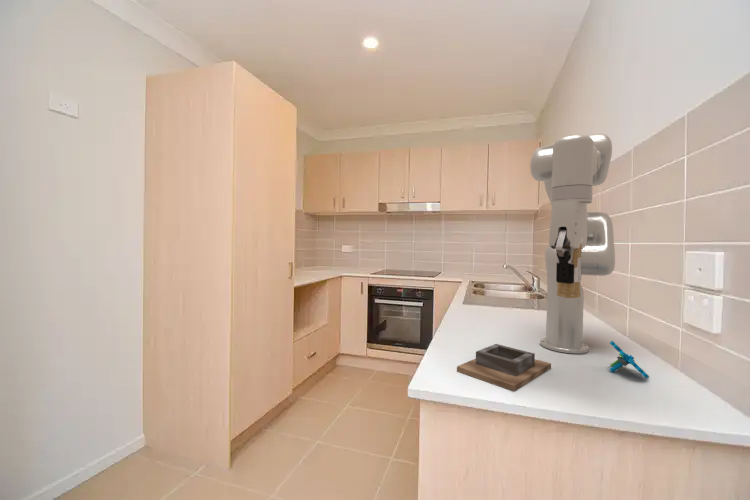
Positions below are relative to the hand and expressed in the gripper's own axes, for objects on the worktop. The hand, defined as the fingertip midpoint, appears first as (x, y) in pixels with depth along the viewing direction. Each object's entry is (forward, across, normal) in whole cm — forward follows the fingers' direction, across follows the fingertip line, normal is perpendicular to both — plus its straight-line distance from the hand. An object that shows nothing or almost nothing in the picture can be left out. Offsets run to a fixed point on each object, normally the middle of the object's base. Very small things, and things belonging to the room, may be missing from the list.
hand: (568, 280), depth 70 cm
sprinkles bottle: (+4, 0, 0) cm, 4 cm away
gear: (+24, -19, +8) cm, 31 cm away
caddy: (+23, +1, -13) cm, 27 cm away
